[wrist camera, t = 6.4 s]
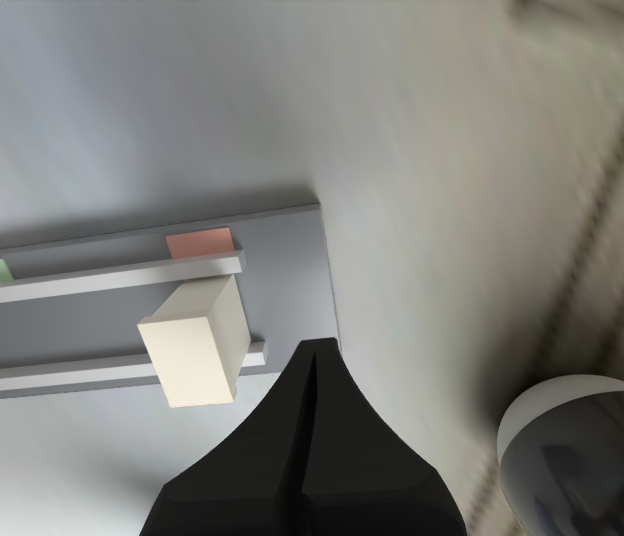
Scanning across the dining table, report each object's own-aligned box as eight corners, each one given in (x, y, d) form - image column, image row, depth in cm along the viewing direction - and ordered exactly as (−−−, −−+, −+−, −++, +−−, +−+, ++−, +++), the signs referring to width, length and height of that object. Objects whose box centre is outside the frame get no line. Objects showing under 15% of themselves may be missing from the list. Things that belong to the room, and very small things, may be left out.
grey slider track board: (341, 350, 20) (343, 378, 18) (-13, 385, 23) (-52, 414, 20) (320, 203, 17) (319, 214, 15) (-94, 262, 19) (-151, 281, 17)
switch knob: (254, 341, 18) (233, 401, 14) (205, 346, 18) (170, 407, 14) (236, 270, 17) (206, 316, 13) (182, 277, 17) (137, 324, 13)
